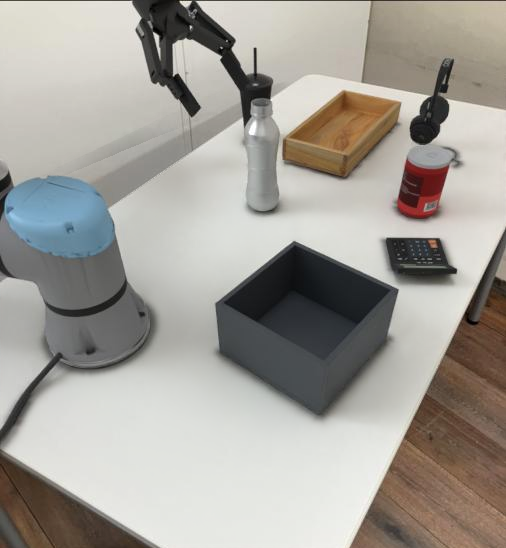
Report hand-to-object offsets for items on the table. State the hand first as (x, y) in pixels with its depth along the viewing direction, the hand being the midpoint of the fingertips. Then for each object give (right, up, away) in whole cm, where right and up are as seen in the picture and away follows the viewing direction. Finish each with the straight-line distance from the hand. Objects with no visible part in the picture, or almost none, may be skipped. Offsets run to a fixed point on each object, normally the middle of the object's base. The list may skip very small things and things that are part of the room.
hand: (221, 99), depth 91 cm
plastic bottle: (+7, -17, +10) cm, 21 cm away
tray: (+26, +3, +27) cm, 38 cm away
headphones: (+45, -4, +21) cm, 50 cm away
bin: (+13, -44, -16) cm, 48 cm away
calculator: (+34, -30, -3) cm, 45 cm away
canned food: (+37, -17, +8) cm, 42 cm away
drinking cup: (+6, +3, +28) cm, 29 cm away
